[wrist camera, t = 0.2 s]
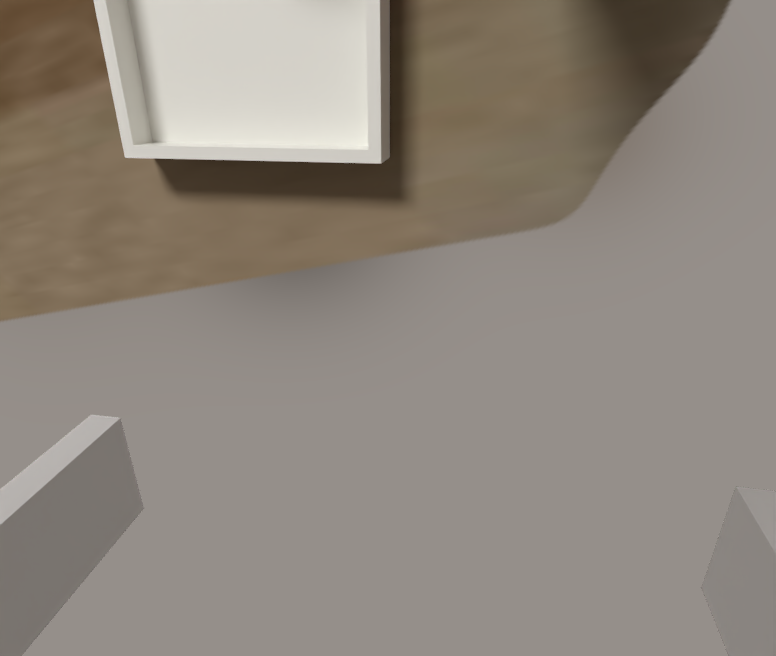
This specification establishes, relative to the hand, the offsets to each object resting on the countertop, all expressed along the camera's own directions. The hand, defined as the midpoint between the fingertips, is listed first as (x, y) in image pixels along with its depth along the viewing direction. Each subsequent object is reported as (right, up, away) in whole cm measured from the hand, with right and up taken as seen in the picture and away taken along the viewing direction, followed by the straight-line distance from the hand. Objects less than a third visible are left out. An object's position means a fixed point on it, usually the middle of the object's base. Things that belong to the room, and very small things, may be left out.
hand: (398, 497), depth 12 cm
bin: (-9, +22, +23) cm, 33 cm away
